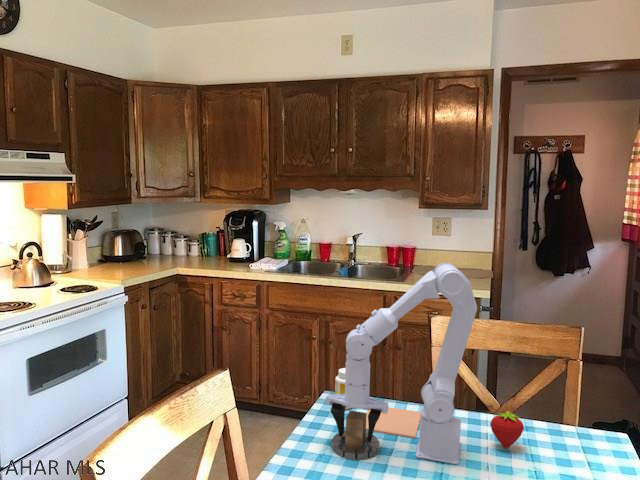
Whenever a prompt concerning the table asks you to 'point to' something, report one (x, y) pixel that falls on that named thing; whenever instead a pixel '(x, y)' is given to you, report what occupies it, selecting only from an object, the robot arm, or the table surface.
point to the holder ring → (355, 453)
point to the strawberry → (506, 428)
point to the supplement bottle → (340, 383)
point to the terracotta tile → (397, 422)
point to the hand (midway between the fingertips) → (355, 436)
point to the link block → (355, 430)
